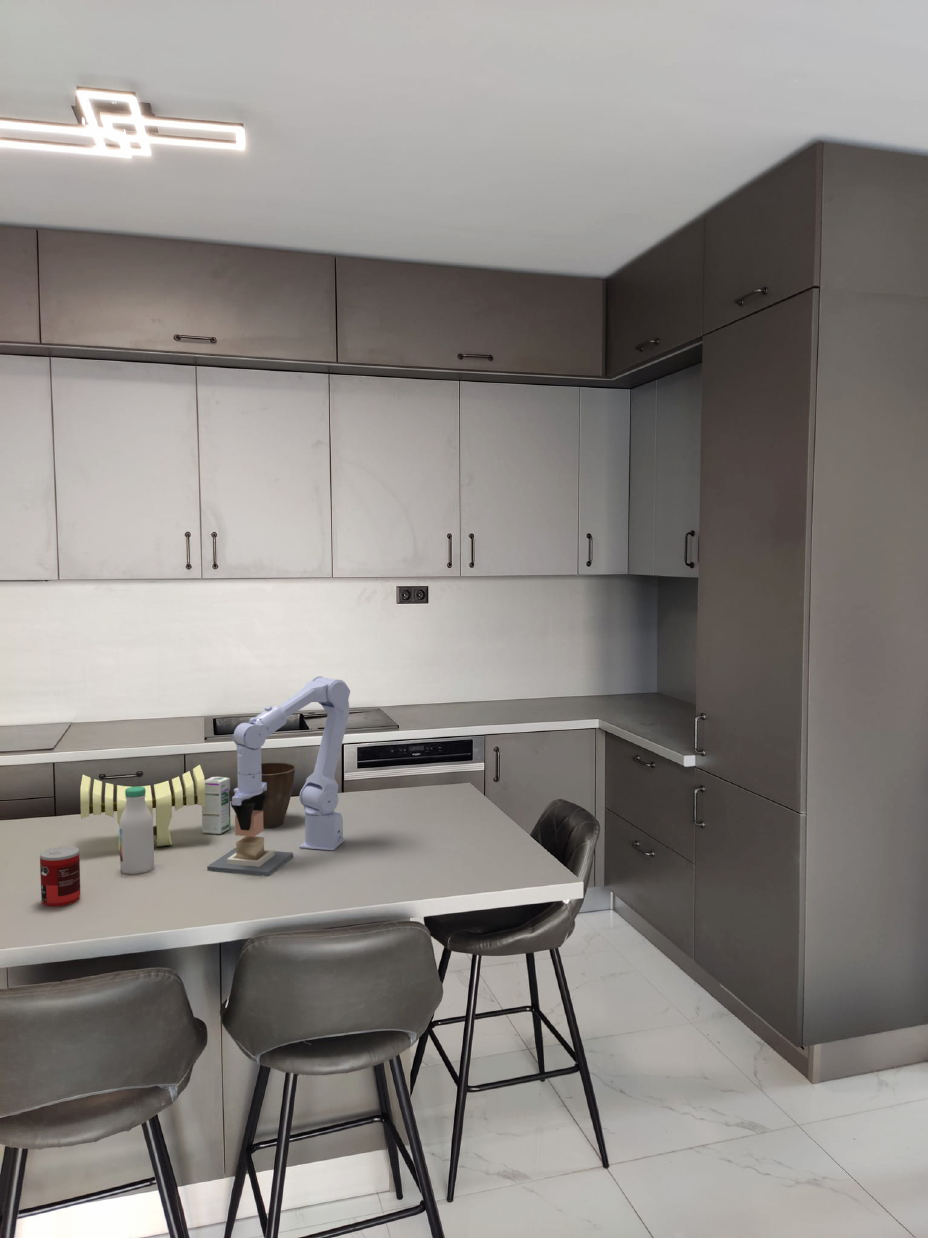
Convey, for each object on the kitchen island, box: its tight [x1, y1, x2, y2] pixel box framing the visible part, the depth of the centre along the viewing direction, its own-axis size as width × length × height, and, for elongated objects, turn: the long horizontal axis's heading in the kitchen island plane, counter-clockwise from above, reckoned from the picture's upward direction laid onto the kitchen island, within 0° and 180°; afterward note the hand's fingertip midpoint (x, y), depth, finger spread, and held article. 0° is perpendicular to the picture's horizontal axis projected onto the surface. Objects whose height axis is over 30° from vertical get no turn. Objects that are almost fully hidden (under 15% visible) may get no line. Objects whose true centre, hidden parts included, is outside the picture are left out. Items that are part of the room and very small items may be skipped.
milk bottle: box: [118, 785, 155, 875], centre depth 211 cm, size 8×8×20 cm
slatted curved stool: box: [79, 764, 206, 852], centre depth 232 cm, size 30×16×18 cm, turn 111°
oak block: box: [235, 836, 265, 860], centre depth 216 cm, size 5×5×5 cm
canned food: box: [39, 845, 81, 908], centre depth 192 cm, size 8×8×11 cm
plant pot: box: [261, 762, 296, 828], centre depth 248 cm, size 15×15×16 cm
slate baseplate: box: [206, 847, 294, 877], centre depth 216 cm, size 16×14×2 cm
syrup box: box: [201, 776, 231, 835], centre depth 241 cm, size 6×6×14 cm
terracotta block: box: [234, 810, 264, 837], centre depth 215 cm, size 5×5×5 cm
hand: (250, 826), depth 215 cm, fingers closed on terracotta block, 5 cm apart
